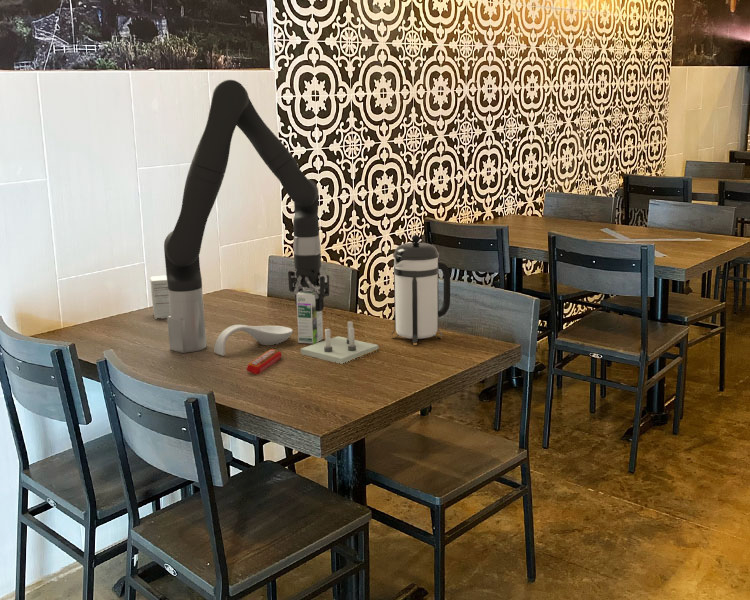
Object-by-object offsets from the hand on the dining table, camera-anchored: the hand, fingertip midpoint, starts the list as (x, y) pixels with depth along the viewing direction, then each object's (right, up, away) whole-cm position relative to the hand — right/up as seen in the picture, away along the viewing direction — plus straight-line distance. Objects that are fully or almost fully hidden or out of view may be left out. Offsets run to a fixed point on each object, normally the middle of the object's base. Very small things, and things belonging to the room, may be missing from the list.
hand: (309, 308), depth 234 cm
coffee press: (+31, -9, +3) cm, 33 cm away
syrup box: (0, -9, +2) cm, 10 cm away
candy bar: (-10, -15, -19) cm, 26 cm away
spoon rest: (-15, -11, -1) cm, 19 cm away
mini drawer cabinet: (-50, -3, +34) cm, 60 cm away
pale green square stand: (+9, -12, -9) cm, 17 cm away
